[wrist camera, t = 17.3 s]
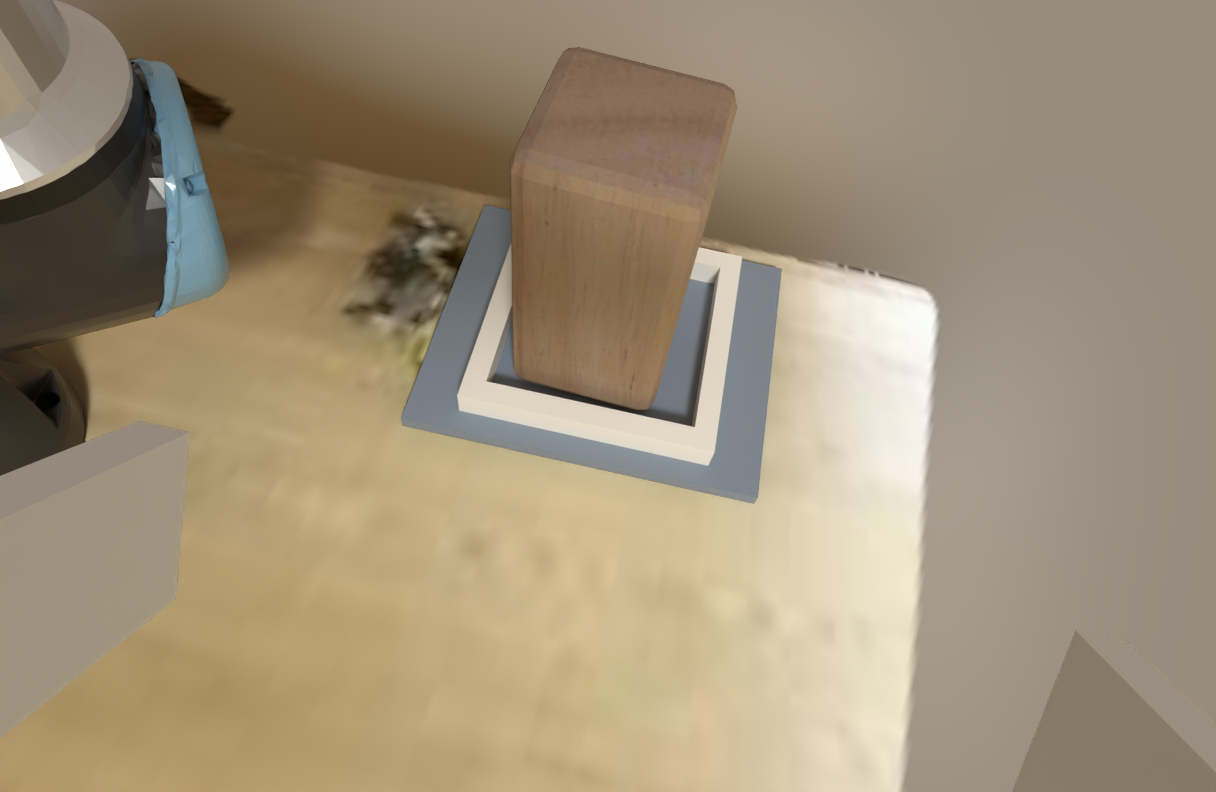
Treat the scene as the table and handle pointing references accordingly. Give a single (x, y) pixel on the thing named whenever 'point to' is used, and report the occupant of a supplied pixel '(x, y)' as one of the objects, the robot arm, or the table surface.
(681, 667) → the table surface
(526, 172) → the block
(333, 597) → the table surface
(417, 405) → the grey square frame tray
